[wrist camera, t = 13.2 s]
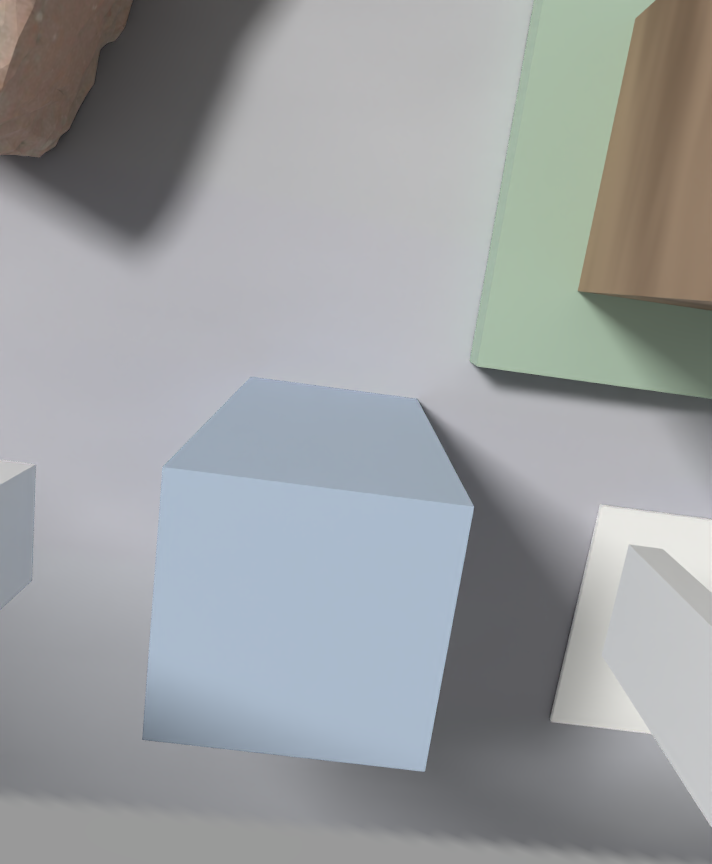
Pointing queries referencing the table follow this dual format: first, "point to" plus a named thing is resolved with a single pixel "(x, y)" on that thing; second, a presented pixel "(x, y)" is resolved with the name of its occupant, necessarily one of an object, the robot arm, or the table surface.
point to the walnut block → (659, 166)
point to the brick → (49, 66)
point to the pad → (574, 223)
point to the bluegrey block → (306, 578)
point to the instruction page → (583, 663)
